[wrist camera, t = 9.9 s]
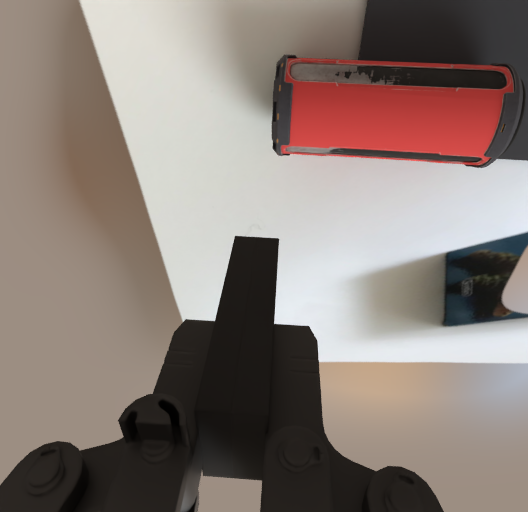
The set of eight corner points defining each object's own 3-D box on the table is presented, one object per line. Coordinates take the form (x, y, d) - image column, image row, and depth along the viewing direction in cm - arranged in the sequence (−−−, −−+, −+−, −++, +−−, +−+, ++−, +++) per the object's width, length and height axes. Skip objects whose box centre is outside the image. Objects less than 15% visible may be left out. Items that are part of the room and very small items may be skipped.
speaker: (268, 140, 28) (528, 155, 26) (277, 33, 27) (539, 42, 26) (274, 164, 35) (475, 176, 34) (281, 80, 35) (483, 89, 34)
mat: (344, 147, 37) (344, 149, 36) (372, -35, 29) (374, -35, 28) (601, 162, 36) (605, 165, 35) (705, -22, 28) (712, -22, 27)
